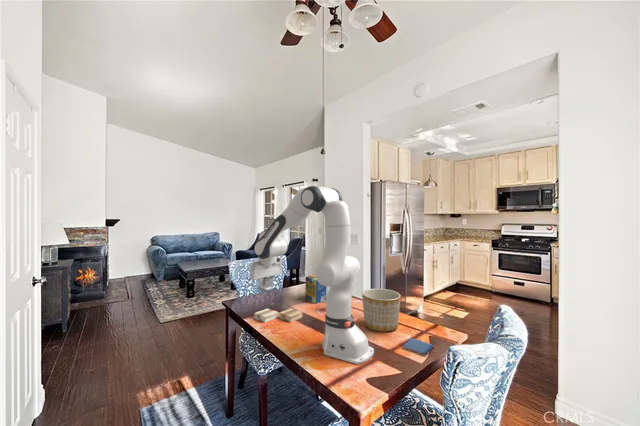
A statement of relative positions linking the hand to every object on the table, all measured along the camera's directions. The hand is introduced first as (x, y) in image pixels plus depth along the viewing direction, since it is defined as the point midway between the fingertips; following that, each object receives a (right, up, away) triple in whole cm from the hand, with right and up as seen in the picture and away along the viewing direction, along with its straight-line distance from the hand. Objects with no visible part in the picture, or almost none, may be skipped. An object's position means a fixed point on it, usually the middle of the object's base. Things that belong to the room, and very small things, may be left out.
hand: (266, 284), depth 151 cm
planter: (+61, -19, -9) cm, 65 cm away
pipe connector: (+35, -19, +13) cm, 42 cm away
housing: (0, -3, 0) cm, 3 cm away
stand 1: (0, -18, 0) cm, 18 cm away
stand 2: (+13, -18, +1) cm, 23 cm away
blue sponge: (+72, -20, -32) cm, 81 cm away
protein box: (+29, -18, +32) cm, 47 cm away
